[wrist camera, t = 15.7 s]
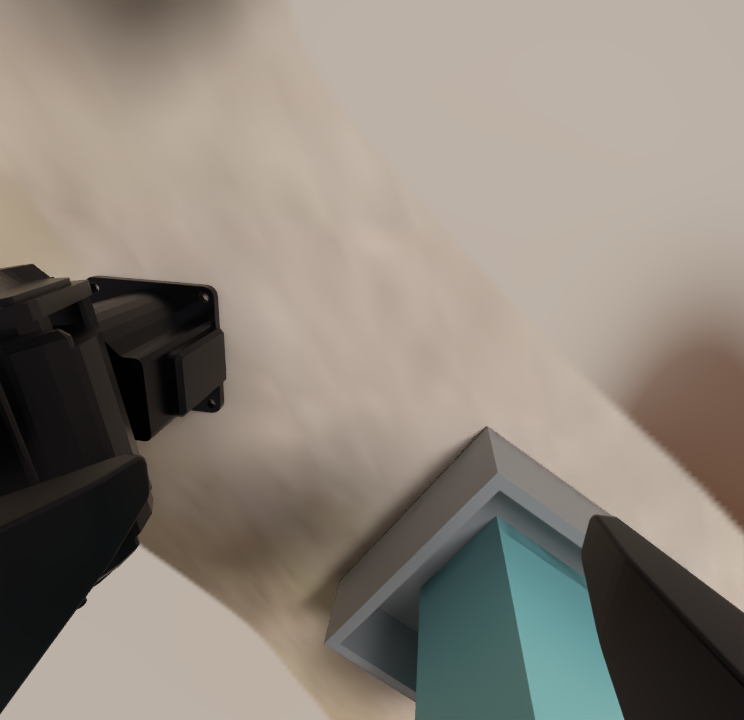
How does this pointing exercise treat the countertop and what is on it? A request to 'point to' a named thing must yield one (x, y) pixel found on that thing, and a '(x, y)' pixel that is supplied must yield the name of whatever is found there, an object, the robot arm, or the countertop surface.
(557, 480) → the gray square tray
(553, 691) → the teal square planter
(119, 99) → the countertop surface
